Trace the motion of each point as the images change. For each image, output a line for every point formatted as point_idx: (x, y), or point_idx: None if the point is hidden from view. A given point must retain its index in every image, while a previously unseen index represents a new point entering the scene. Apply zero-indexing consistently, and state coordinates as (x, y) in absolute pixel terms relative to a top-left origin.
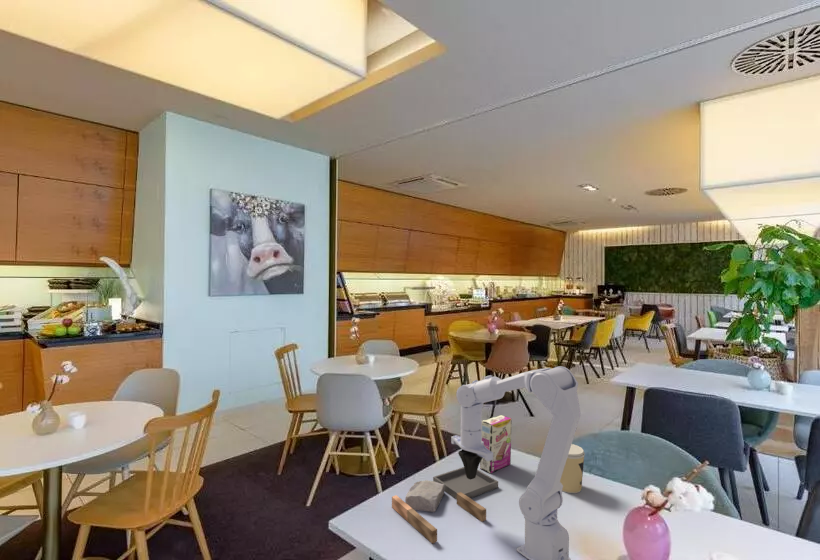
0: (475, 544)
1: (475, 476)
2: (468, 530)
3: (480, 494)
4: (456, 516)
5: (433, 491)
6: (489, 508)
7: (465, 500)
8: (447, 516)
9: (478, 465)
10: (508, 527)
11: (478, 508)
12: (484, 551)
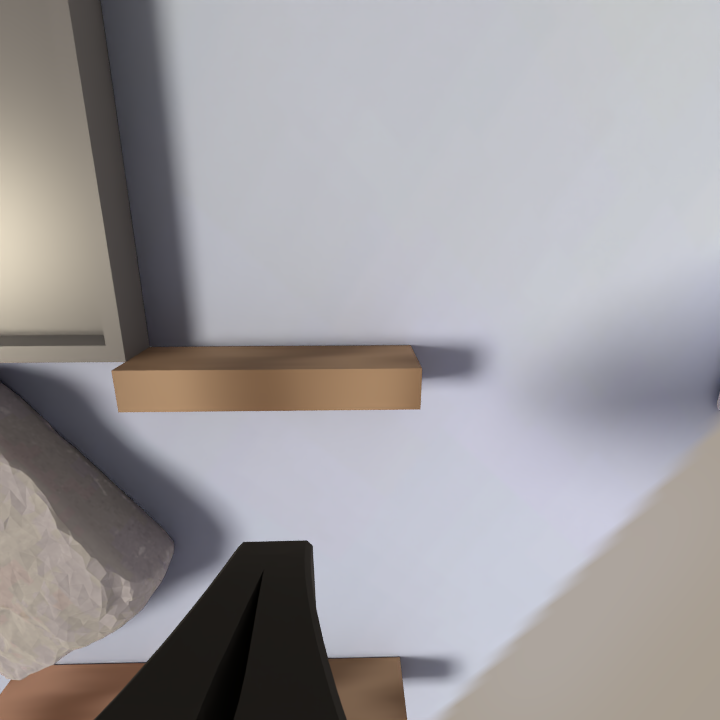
0: (529, 536)
1: (312, 556)
2: (422, 494)
3: (117, 129)
4: (276, 468)
5: (30, 553)
6: (317, 220)
7: (230, 406)
8: (249, 508)
9: (341, 714)
10: (553, 279)
11: (380, 408)
12: (594, 534)
